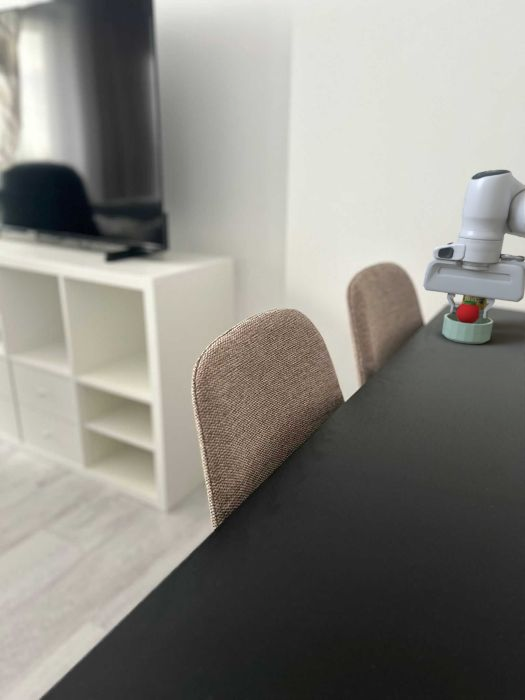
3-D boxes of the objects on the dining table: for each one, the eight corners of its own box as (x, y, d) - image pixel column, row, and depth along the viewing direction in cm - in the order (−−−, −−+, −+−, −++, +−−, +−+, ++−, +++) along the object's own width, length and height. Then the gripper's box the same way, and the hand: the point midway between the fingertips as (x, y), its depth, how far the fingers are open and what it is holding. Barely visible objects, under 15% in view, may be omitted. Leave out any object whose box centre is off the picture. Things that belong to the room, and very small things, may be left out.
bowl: (477, 331, 118) (480, 312, 117) (498, 345, 109) (501, 324, 107) (435, 331, 118) (437, 312, 116) (452, 344, 108) (455, 324, 107)
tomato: (472, 320, 115) (476, 299, 113) (482, 327, 110) (485, 304, 108) (451, 320, 114) (454, 299, 113) (460, 326, 110) (463, 304, 108)
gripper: (534, 255, 105) (521, 319, 109) (432, 245, 114) (424, 305, 119) (532, 258, 100) (518, 326, 104) (425, 248, 109) (417, 311, 114)
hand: (467, 315), depth 112 cm, fingers closed on tomato, 4 cm apart
